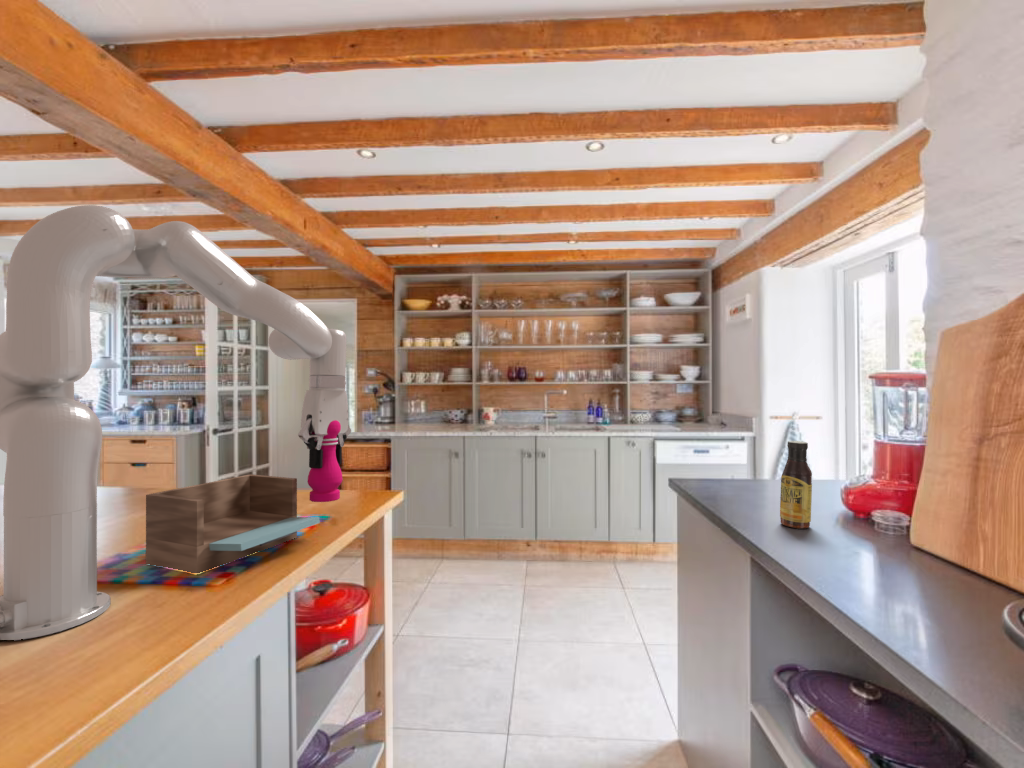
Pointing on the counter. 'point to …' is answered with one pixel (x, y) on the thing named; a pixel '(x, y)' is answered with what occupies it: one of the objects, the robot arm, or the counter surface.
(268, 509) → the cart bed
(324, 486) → the pepper mill
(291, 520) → the panel
